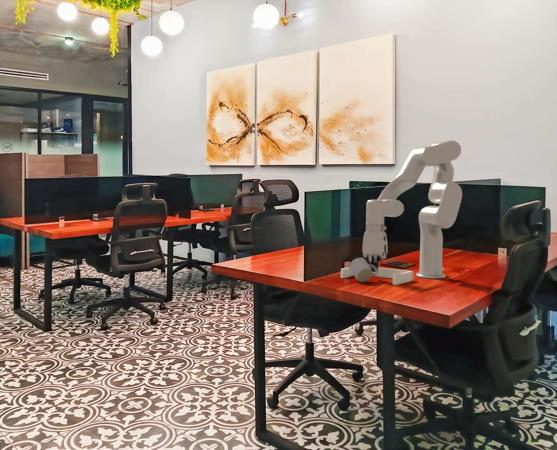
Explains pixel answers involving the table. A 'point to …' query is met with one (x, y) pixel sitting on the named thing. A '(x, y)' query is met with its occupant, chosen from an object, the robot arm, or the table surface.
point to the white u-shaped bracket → (385, 274)
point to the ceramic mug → (362, 269)
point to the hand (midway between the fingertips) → (374, 271)
